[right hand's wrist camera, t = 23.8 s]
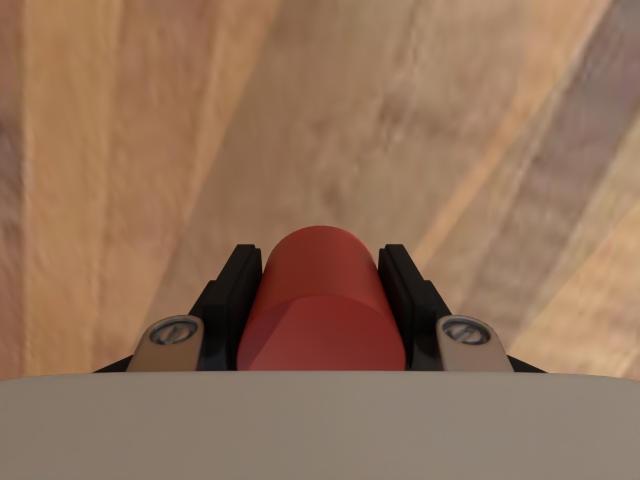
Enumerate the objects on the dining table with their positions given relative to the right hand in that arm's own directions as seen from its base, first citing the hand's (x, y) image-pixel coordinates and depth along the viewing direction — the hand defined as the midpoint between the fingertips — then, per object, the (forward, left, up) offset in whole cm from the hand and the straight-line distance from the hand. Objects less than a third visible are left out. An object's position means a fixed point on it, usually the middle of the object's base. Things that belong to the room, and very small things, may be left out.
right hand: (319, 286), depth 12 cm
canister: (0, 0, 0) cm, 1 cm away
